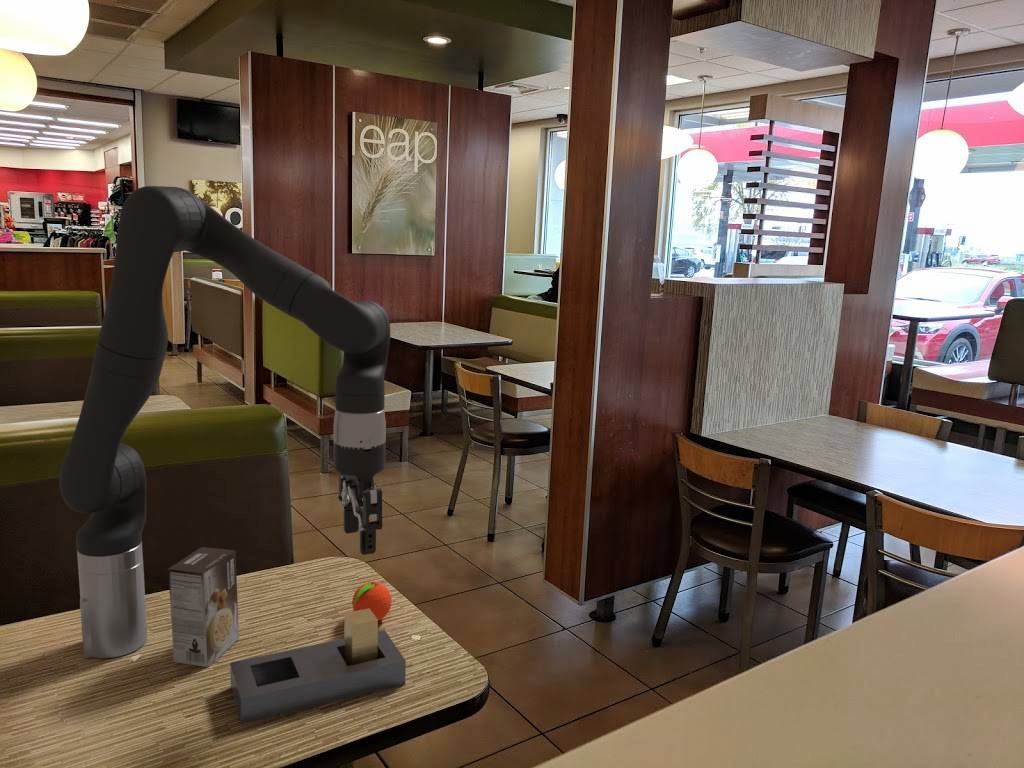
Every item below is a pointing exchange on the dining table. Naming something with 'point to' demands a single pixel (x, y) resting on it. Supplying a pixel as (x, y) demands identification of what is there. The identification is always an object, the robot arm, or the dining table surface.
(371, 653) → the peg
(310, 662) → the rail
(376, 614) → the clementine
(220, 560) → the coffee box
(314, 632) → the dining table surface
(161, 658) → the dining table surface
